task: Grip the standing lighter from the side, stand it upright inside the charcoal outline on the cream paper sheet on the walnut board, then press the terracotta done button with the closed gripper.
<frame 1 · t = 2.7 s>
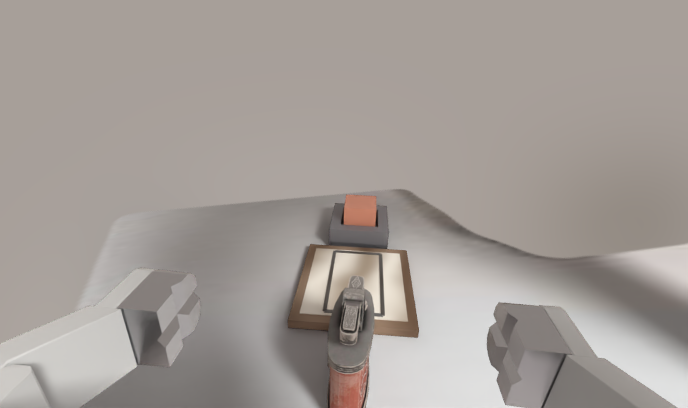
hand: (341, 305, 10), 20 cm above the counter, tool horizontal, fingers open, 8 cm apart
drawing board: (355, 287, 41), on the counter
button housing: (358, 234, 52), on the counter
lighter: (348, 388, 30), on the counter
done button: (360, 211, 50), point 4 cm above the counter, slide at 0.0 cm
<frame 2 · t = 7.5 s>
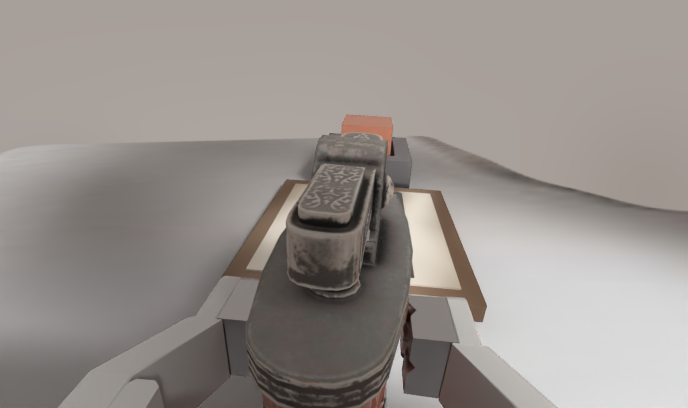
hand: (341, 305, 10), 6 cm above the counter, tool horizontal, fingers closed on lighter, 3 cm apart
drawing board: (357, 237, 24), on the counter
button housing: (364, 175, 35), on the counter
done button: (366, 136, 33), point 4 cm above the counter, slide at 0.0 cm
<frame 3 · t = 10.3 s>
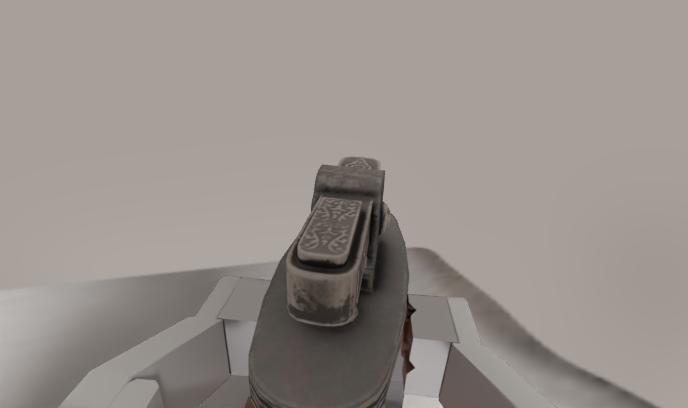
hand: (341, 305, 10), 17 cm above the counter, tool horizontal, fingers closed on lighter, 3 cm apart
button housing: (349, 357, 28), on the counter
when the fingers open (8 cm above the counter, at t = 12.9 s): lighter stays where it is, resting on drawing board.
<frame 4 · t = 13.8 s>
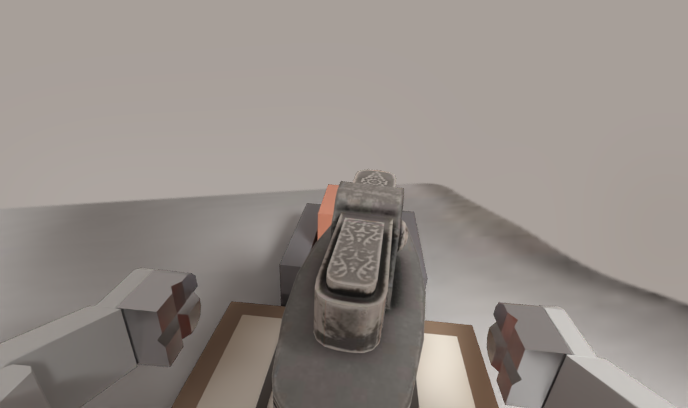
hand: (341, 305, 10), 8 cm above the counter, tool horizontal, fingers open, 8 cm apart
button housing: (354, 272, 24), on the counter
done button: (357, 222, 22), point 4 cm above the counter, slide at 0.0 cm
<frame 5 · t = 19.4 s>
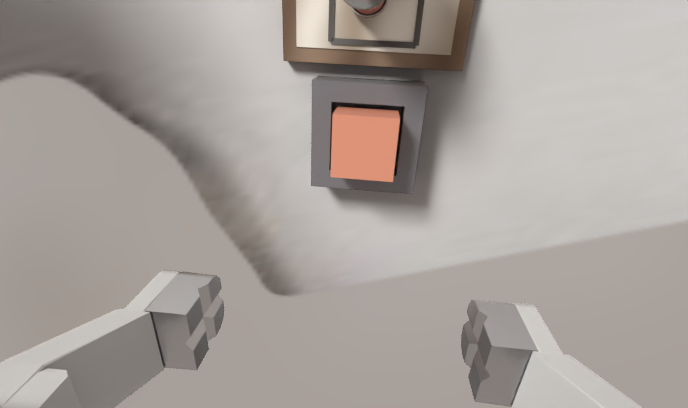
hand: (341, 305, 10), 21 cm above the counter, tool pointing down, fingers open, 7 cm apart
button housing: (366, 130, 29), on the counter
done button: (364, 143, 25), point 4 cm above the counter, slide at 0.0 cm
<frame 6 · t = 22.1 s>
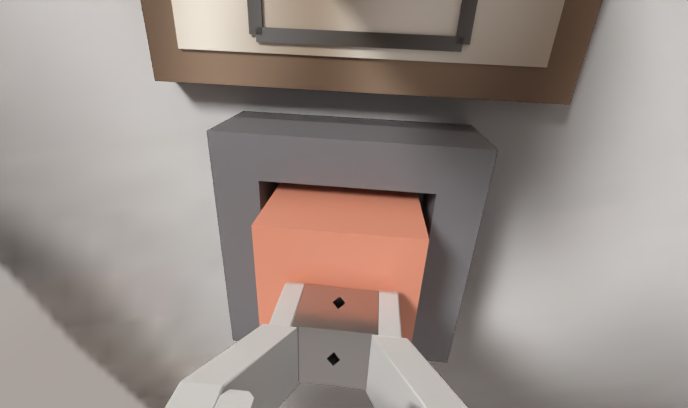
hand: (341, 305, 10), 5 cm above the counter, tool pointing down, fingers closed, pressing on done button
button housing: (349, 218, 14), on the counter
done button: (341, 269, 11), point 3 cm above the counter, slide at 0.5 cm, touching gripper
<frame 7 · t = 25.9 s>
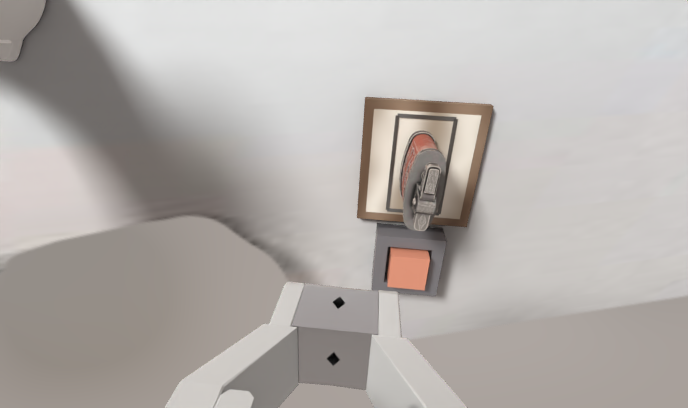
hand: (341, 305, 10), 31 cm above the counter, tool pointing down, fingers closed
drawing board: (418, 164, 40), on the counter
button housing: (405, 253, 45), on the counter
lighter: (415, 165, 39), point 1 cm above the counter, touching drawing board
done button: (407, 266, 42), point 3 cm above the counter, slide at 1.1 cm
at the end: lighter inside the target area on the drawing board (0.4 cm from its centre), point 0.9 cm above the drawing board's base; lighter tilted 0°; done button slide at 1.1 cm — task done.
